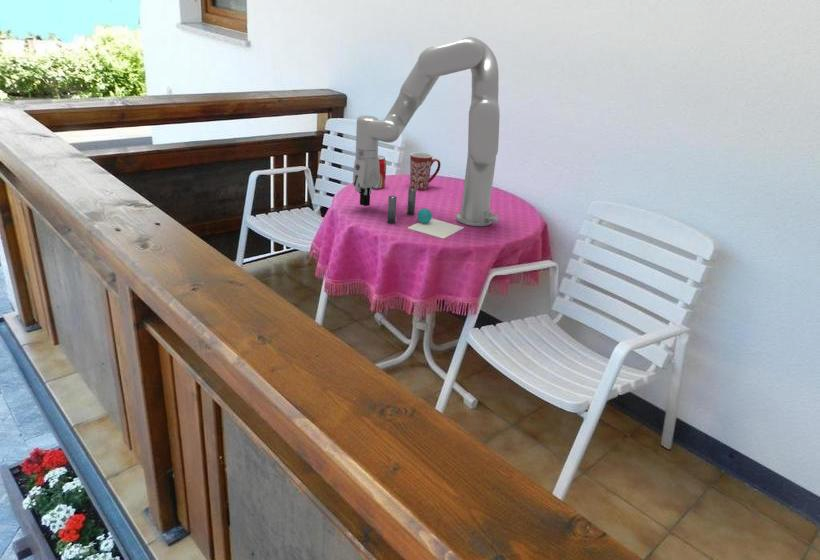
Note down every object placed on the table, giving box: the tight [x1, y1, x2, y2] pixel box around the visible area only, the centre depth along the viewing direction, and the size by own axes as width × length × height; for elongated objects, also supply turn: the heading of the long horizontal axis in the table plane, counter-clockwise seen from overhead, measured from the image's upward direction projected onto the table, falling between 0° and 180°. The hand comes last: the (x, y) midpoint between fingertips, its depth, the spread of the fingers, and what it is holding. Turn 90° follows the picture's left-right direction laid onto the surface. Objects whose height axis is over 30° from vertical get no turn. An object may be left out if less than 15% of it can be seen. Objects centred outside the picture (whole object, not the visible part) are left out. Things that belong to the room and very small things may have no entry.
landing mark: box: [406, 218, 465, 240], centre depth 198 cm, size 14×14×1 cm
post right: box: [406, 188, 417, 216], centre depth 207 cm, size 3×3×9 cm
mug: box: [409, 151, 441, 191], centre depth 237 cm, size 13×9×14 cm
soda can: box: [372, 155, 387, 190], centre depth 233 cm, size 7×7×12 cm
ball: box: [416, 208, 433, 223], centre depth 200 cm, size 5×5×5 cm
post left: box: [386, 195, 397, 225], centre depth 198 cm, size 3×3×9 cm
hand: (364, 204), depth 210 cm, fingers closed
